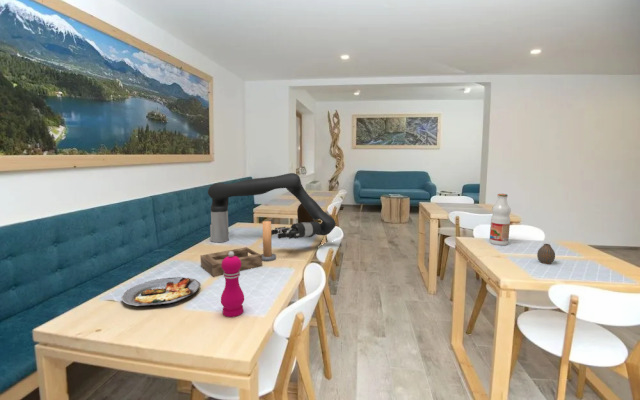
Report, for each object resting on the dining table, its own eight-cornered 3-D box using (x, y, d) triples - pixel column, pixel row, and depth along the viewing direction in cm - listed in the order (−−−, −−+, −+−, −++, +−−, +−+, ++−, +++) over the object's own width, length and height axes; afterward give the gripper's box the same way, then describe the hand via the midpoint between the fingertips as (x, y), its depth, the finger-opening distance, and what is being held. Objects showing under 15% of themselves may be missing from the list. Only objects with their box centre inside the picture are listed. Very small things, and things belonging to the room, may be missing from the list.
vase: (552, 261, 159) (554, 243, 157) (555, 265, 152) (557, 247, 151) (535, 259, 162) (537, 241, 160) (537, 263, 155) (539, 245, 154)
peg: (257, 261, 157) (256, 223, 155) (261, 256, 165) (260, 220, 163) (274, 261, 157) (273, 223, 154) (277, 256, 165) (276, 220, 162)
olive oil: (300, 237, 200) (300, 196, 197) (295, 233, 210) (295, 194, 207) (317, 236, 204) (317, 195, 201) (311, 232, 214) (311, 193, 211)
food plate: (204, 279, 134) (203, 271, 134) (195, 306, 112) (194, 296, 111) (135, 286, 129) (134, 277, 129) (112, 315, 107) (111, 305, 106)
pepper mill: (223, 307, 110) (221, 248, 108) (246, 306, 111) (244, 247, 108) (219, 318, 103) (216, 255, 100) (243, 317, 104) (241, 254, 101)
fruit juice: (510, 246, 184) (514, 195, 180) (491, 245, 187) (495, 194, 183) (505, 241, 193) (509, 193, 189) (487, 240, 196) (491, 192, 192)
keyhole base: (246, 257, 163) (246, 247, 162) (262, 266, 151) (261, 255, 150) (200, 266, 150) (200, 255, 149) (213, 276, 137) (213, 265, 137)
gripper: (294, 220, 176) (266, 224, 167) (309, 225, 165) (281, 229, 156) (294, 234, 178) (266, 239, 168) (309, 240, 166) (281, 245, 157)
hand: (273, 234), depth 162 cm, fingers open, 8 cm apart
